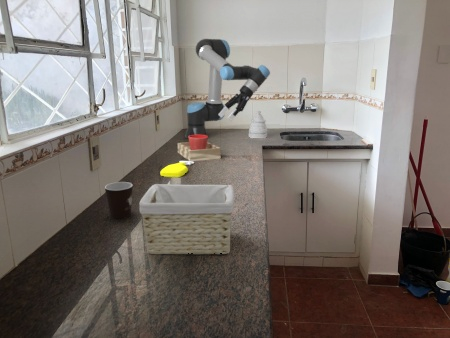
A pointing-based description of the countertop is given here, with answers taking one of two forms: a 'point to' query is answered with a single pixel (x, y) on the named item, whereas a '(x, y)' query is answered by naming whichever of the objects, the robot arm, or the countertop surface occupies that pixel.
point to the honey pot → (258, 127)
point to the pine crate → (199, 152)
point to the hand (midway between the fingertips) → (224, 117)
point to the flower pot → (198, 142)
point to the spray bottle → (175, 169)
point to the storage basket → (187, 218)
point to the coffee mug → (119, 199)
